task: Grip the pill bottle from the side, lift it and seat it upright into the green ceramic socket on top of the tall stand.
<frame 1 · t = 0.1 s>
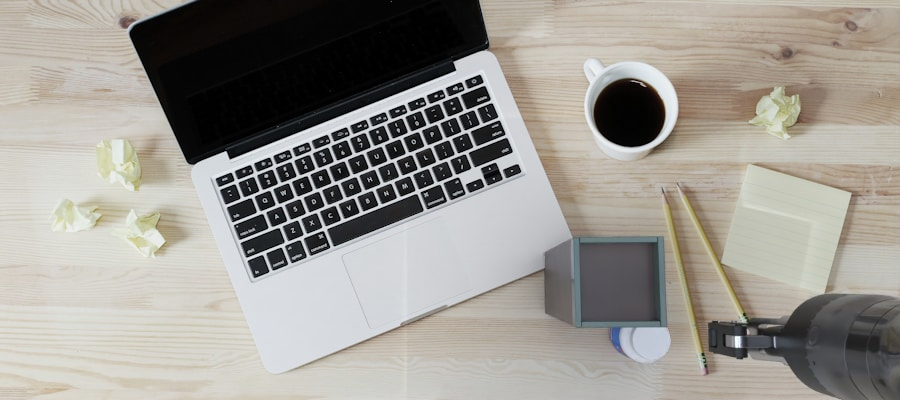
hand: (771, 333, 67), 20 cm above the table, tool pointing down, fingers open, 8 cm apart
pill bottle: (631, 333, 87), on the table
stand: (574, 282, 88), on the table
socket: (615, 281, 61), resting on stand
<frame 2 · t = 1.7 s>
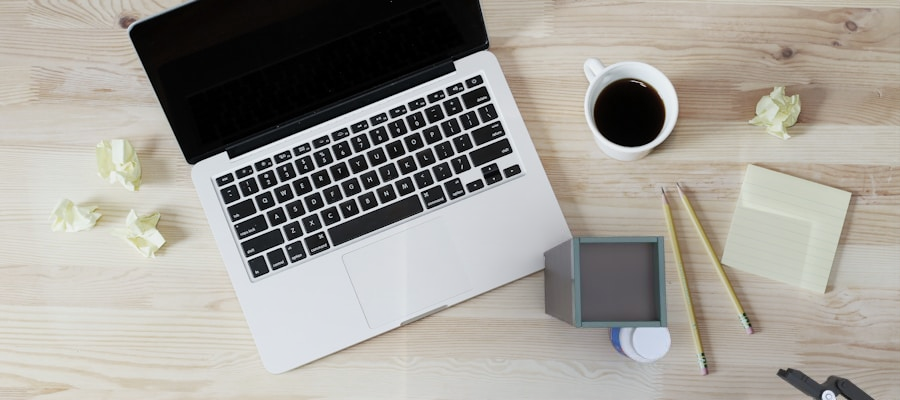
nothing on the table moved.
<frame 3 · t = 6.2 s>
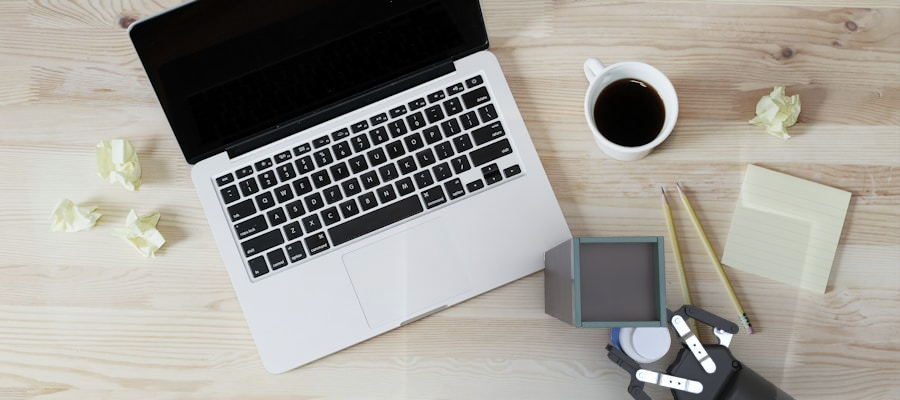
hand: (623, 323, 81), 6 cm above the table, tool horizontal, fingers closed on pill bottle, 5 cm apart
pill bottle: (631, 333, 87), on the table, touching gripper
when the fingers open (33 cm above the table, at t = 14.8 s): pill bottle stays where it is, resting on stand.
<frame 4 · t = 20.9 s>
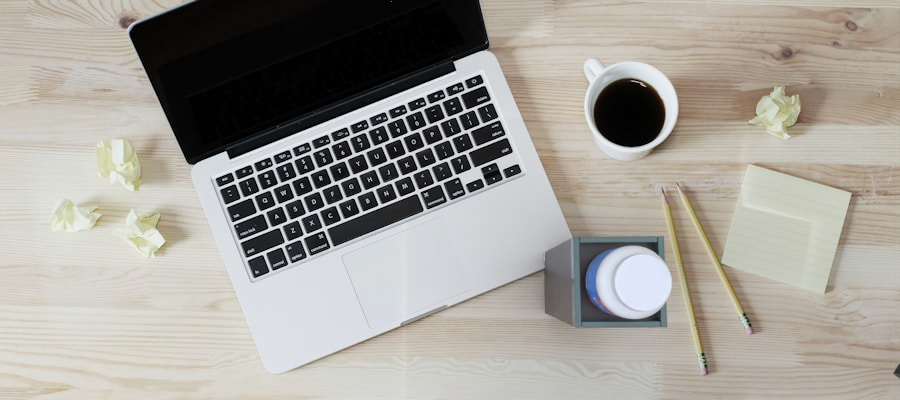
pill bottle: (616, 282, 61), point 27 cm above the table, touching stand
at the end: pill bottle 0.1 cm off-centre on the socket, point 0.0 cm above the socket's base; pill bottle tilted 0° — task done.
